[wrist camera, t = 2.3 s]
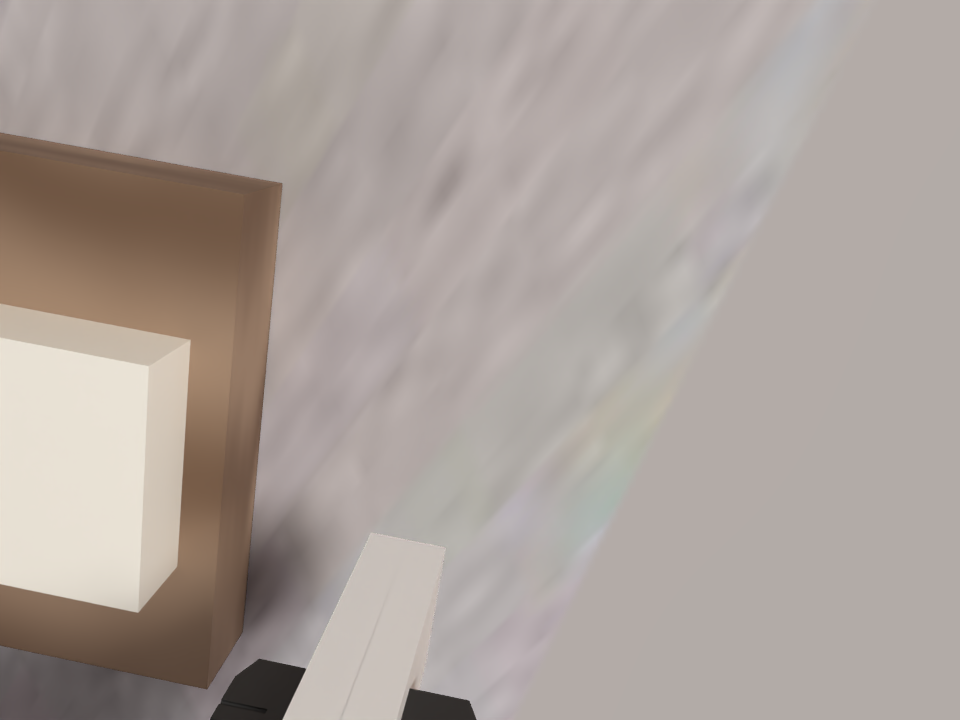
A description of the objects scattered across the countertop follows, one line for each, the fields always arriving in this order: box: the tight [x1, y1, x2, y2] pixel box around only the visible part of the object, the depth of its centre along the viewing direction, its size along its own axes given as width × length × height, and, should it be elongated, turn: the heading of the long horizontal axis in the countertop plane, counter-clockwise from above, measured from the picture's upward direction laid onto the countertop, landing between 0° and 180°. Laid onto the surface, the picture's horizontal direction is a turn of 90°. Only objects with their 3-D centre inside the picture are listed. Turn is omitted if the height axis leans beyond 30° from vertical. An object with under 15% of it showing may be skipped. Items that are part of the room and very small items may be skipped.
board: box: [0, 133, 282, 689], centre depth 22 cm, size 13×12×2 cm
